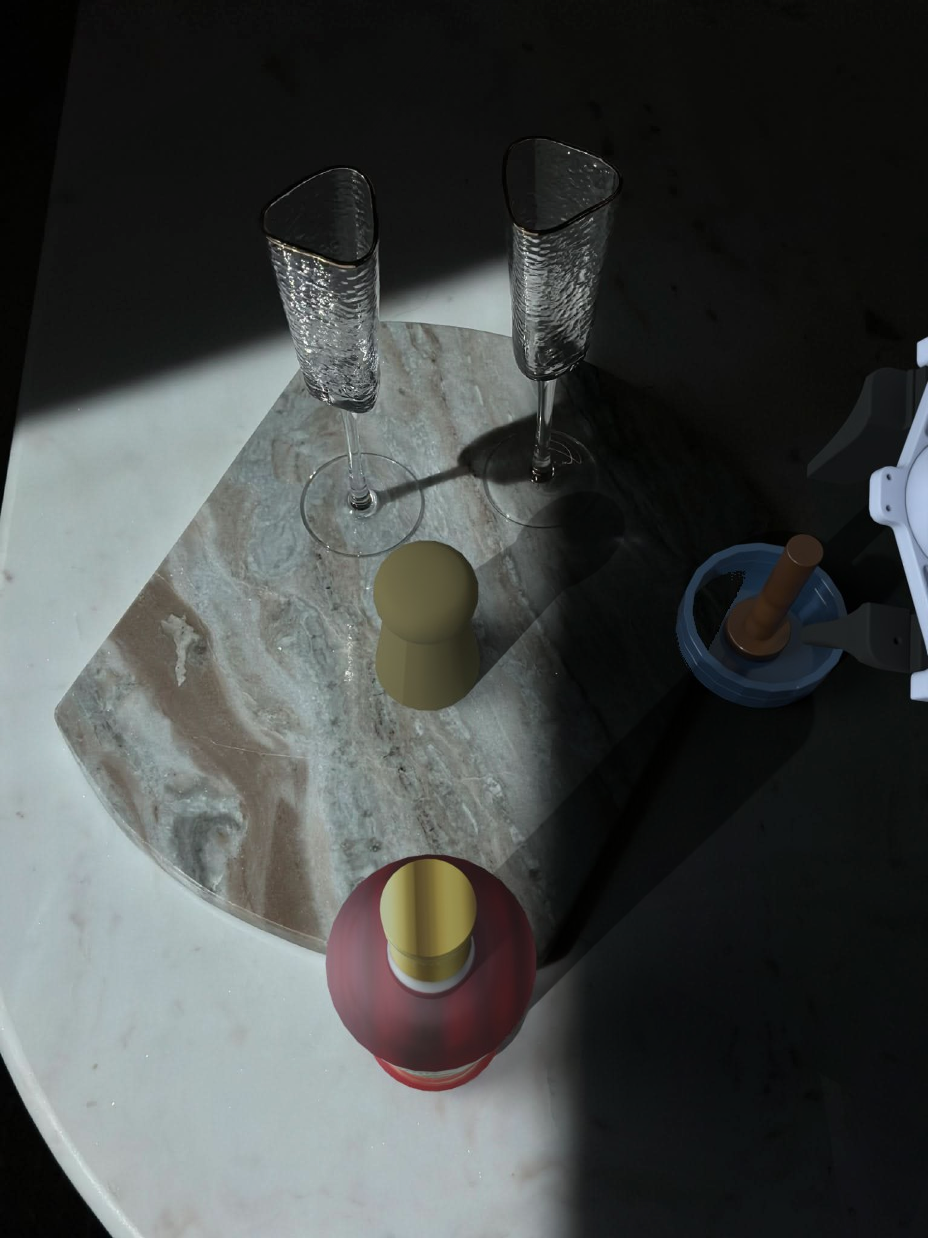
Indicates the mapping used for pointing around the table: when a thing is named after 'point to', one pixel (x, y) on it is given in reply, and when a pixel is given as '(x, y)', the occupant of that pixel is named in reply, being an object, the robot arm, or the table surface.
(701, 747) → the table surface
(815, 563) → the pestle
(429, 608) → the cork
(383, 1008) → the liquor
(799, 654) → the bowl
